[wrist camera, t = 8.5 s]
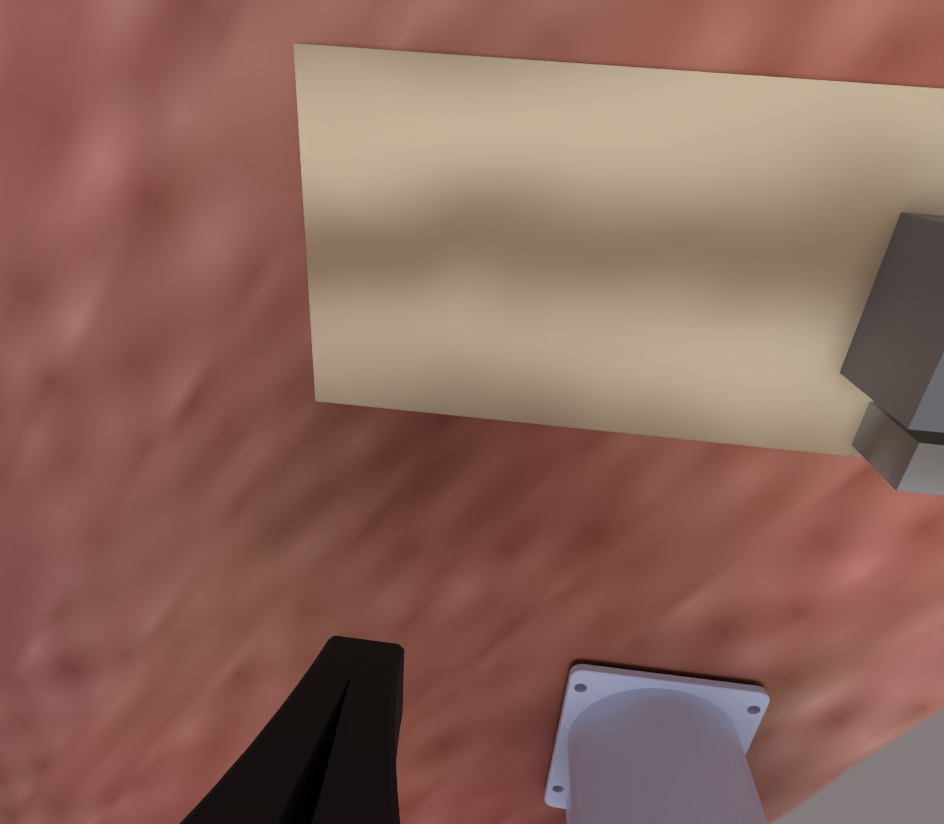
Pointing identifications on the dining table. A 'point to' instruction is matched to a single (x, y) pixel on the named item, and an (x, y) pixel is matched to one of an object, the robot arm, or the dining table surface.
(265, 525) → the dining table surface
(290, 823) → the robot arm
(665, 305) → the mount
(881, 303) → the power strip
